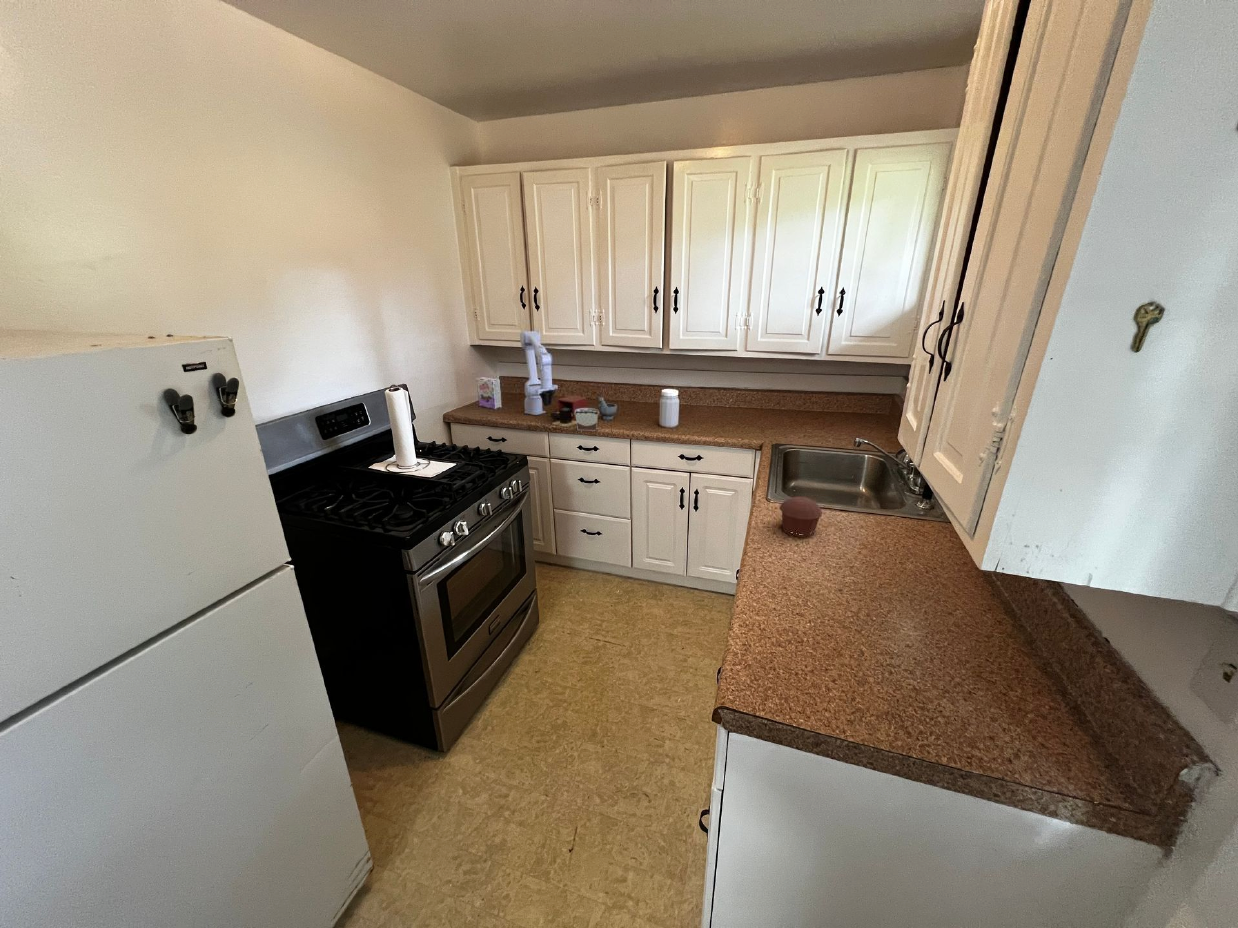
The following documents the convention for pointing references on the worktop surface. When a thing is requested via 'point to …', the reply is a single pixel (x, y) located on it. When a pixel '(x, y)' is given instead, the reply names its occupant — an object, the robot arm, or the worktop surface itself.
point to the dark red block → (572, 403)
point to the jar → (669, 408)
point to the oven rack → (556, 415)
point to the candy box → (489, 392)
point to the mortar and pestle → (607, 409)
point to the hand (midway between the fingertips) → (547, 405)
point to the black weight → (565, 415)
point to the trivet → (564, 424)
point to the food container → (586, 418)
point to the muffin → (800, 516)
